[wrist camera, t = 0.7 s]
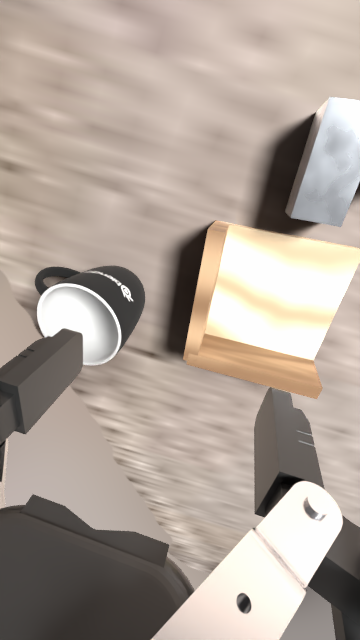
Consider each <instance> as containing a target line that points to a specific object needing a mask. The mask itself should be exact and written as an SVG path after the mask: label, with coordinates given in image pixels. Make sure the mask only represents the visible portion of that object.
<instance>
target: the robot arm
mask: <svg viewBox="0 0 360 640" xmlns="http://www.w3.org/2000/svg"><path fill="white" fill-rule="evenodd" d="M82 365H83V335H82V333H80V332H77V331H73V330H70V329H66V328H63V329H61V330H60V331H59V332H57V333H56V334H55V335H54V336H52V337H51V336H47V337H45V338H42V339H40V340H37V341H35V342H34V343H33V344H32V345H30V346H29V347H27V349H26V350H24V351H23V352H21V353H20V354H19V355H18V356H16V357H14V358H13V359H12V360H11V361H9V362H8V363H6V364H5V365H4V366H3V367H2V368H0V640H279V639H280V637H281V636H282V634H283V632H284V631H285V629H286V627H287V626H288V624H289V622H290V621H291V619H292V617H293V615H294V614H295V612H296V611H297V609H298V607H299V605H300V604H301V602H302V600H303V598H304V596H305V594H306V592H307V590H306V587H307V585H308V586H309V587H310V588H312V589H313V590H314V591H315V592H317V593H318V594H319V595H321V596H322V597H323V598H324V599H326V600H327V601H328V602H330V603H331V607H332V614H333V622H334V629H335V636H336V640H360V528H359V527H358V526H356V525H355V524H353V523H352V522H350V521H349V520H347V519H346V518H345V517H344V516H343V515H342V514H341V511H340V509H339V507H338V505H337V503H336V502H335V500H334V499H333V498H332V496H331V495H330V494H329V493H328V492H327V491H325V489H324V485H323V481H322V476H321V472H320V468H319V463H318V459H317V454H316V450H315V447H314V441H313V437H312V432H311V428H310V423H309V421H308V420H307V418H306V416H305V415H304V413H303V412H302V410H300V409H296V408H293V405H292V399H291V394H290V393H289V392H285V391H282V390H278V389H275V388H271V387H270V388H269V389H268V391H267V393H266V396H265V398H264V400H263V403H262V405H261V407H260V409H259V412H258V414H257V417H256V421H255V428H254V460H255V514H256V515H259V516H262V517H265V518H264V519H263V520H262V521H261V523H260V524H259V525H258V526H257V527H256V528H252V529H251V530H250V531H249V532H248V533H247V534H246V535H245V536H244V538H243V539H242V540H241V541H240V542H239V543H238V544H237V545H236V546H235V547H234V549H233V550H232V551H231V552H230V553H229V554H228V555H227V556H226V557H225V558H224V560H223V561H222V562H221V563H220V564H219V565H218V566H217V567H216V568H215V569H214V571H213V572H212V573H211V574H210V575H209V576H208V577H207V578H206V579H205V581H204V582H203V583H202V584H201V585H200V586H199V587H198V588H197V589H196V590H195V591H194V588H193V587H192V585H191V584H190V582H189V580H188V578H187V577H186V576H185V575H184V573H183V572H182V570H181V569H180V568H179V567H178V566H177V565H176V564H175V563H174V562H173V561H172V560H171V559H169V558H168V557H167V552H168V548H169V545H168V544H166V543H163V542H161V541H158V540H155V539H153V538H150V537H147V536H144V535H142V534H139V533H136V532H129V531H109V530H95V529H93V528H91V527H90V526H89V525H87V524H86V523H85V522H84V521H82V520H81V519H80V518H79V517H78V516H76V515H75V514H74V513H72V512H71V511H70V510H69V509H68V508H66V507H65V506H63V505H60V504H57V503H55V502H52V501H49V500H47V499H44V498H41V497H39V496H36V495H32V496H31V498H30V499H29V501H28V502H27V503H26V505H18V506H10V507H5V478H6V465H7V453H8V437H9V436H10V435H11V433H12V432H13V431H17V432H20V433H23V434H26V433H27V432H28V431H29V430H30V429H31V427H32V426H33V425H34V424H35V423H36V422H37V421H38V420H39V419H40V417H41V416H42V415H43V414H44V413H45V412H46V410H47V409H48V408H49V407H50V406H51V405H52V404H53V403H54V401H55V400H56V399H57V398H58V397H59V396H60V394H62V392H63V391H64V390H65V389H66V388H67V387H68V386H69V384H70V383H71V382H72V381H73V380H74V379H75V378H76V376H77V375H78V374H79V372H80V370H81V368H82Z"/></svg>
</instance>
